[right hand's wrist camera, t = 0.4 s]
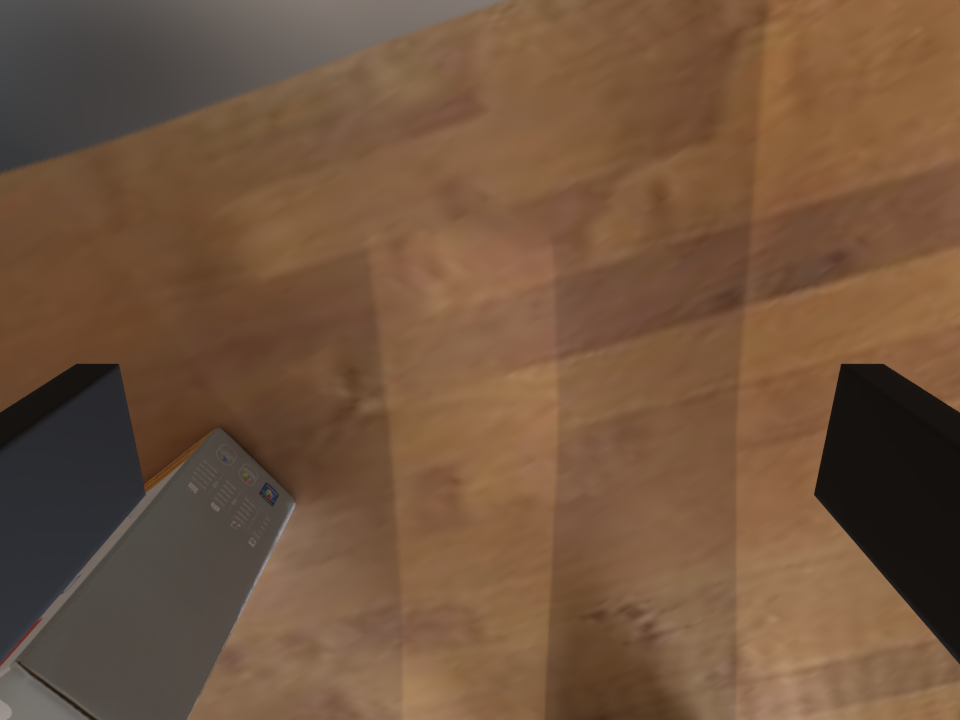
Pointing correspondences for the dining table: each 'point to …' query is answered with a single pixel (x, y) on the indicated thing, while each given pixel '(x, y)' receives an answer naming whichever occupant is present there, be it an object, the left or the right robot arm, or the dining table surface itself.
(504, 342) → the dining table surface
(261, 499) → the hard drive box
